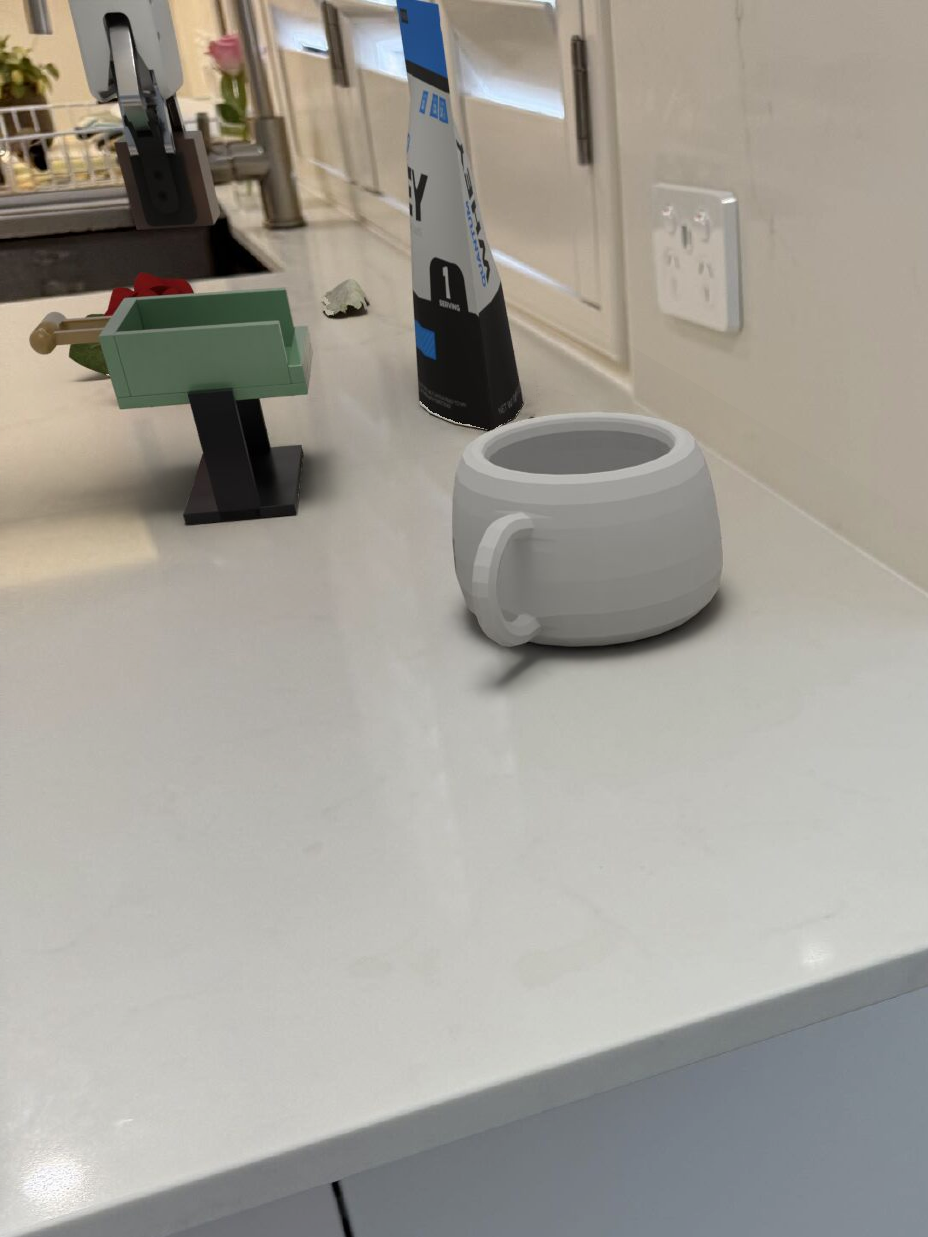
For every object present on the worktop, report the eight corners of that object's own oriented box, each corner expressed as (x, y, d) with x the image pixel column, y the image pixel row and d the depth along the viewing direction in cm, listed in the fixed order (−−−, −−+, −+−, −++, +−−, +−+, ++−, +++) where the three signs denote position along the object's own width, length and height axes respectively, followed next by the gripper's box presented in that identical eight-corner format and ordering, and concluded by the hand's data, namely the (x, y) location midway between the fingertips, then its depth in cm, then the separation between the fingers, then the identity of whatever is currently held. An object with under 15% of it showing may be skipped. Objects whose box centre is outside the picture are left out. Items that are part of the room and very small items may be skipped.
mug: (540, 545, 94) (522, 394, 88) (763, 572, 89) (761, 415, 83) (367, 670, 79) (331, 497, 72) (625, 712, 74) (610, 530, 67)
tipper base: (185, 525, 99) (150, 396, 94) (204, 462, 111) (174, 345, 106) (296, 515, 101) (268, 387, 95) (303, 454, 113) (278, 337, 107)
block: (136, 230, 90) (113, 142, 87) (146, 218, 94) (124, 134, 91) (214, 225, 91) (193, 138, 88) (220, 214, 95) (201, 130, 92)
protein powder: (497, 363, 135) (450, -6, 117) (547, 427, 117) (502, 1, 99) (402, 373, 133) (339, -2, 115) (439, 440, 115) (371, 7, 96)
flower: (198, 263, 147) (211, 254, 122) (239, 370, 153) (258, 382, 128) (52, 299, 143) (34, 298, 119) (99, 407, 149) (91, 427, 124)
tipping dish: (40, 416, 94) (16, 342, 91) (71, 371, 104) (50, 303, 101) (308, 394, 97) (292, 322, 94) (313, 352, 107) (299, 286, 104)
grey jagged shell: (320, 296, 162) (333, 262, 160) (358, 316, 164) (371, 283, 162) (323, 322, 153) (336, 287, 151) (363, 343, 155) (377, 308, 154)
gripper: (53, -119, 87) (137, 203, 98) (-5, -130, 74) (101, 243, 85) (173, -122, 88) (243, 196, 99) (138, -134, 75) (223, 235, 86)
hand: (176, 214), depth 92 cm, fingers closed on block, 5 cm apart
